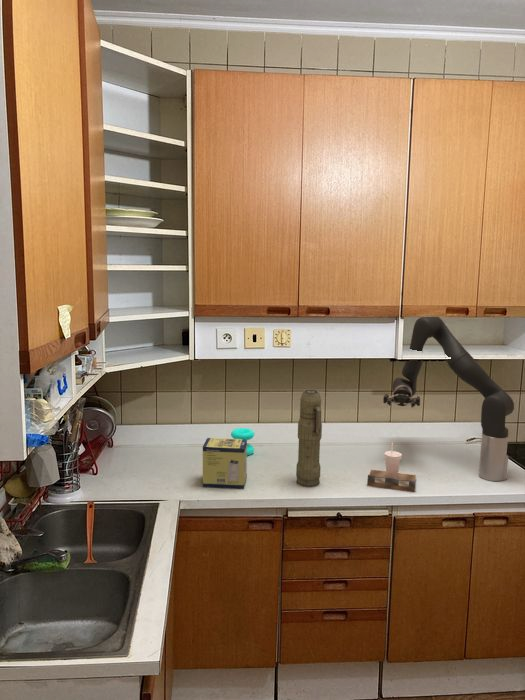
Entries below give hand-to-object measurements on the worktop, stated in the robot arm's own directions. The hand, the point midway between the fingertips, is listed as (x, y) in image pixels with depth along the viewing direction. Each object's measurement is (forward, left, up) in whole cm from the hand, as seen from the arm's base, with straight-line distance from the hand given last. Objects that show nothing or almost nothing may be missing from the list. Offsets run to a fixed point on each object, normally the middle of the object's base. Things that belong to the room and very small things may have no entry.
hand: (401, 404), depth 210 cm
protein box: (+68, +11, -28) cm, 75 cm away
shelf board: (+5, +11, -28) cm, 30 cm away
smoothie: (+5, +11, -26) cm, 29 cm away
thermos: (+37, +11, -28) cm, 48 cm away
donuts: (+61, -21, -28) cm, 70 cm away
